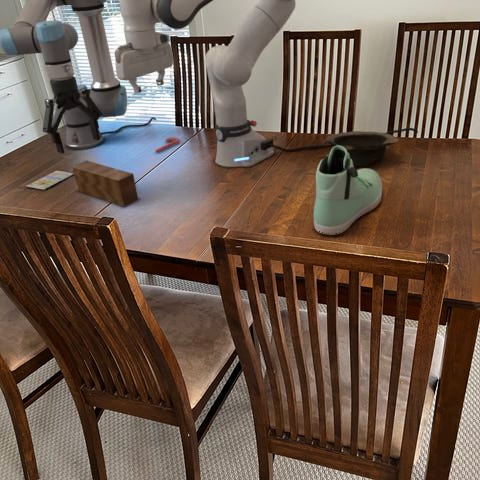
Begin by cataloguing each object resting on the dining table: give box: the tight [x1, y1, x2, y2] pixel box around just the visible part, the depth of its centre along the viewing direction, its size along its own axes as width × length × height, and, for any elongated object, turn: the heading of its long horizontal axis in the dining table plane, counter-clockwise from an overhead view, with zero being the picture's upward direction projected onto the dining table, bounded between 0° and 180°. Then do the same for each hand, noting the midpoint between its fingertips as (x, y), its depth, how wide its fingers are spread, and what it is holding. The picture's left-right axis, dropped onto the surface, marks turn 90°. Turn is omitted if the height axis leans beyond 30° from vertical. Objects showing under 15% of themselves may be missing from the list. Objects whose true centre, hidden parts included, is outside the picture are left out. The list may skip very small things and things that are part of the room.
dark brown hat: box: [324, 130, 399, 167], centre depth 168 cm, size 25×25×9 cm
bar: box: [71, 159, 139, 208], centre depth 156 cm, size 23×6×9 cm, turn 53°
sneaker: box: [313, 146, 383, 236], centre depth 133 cm, size 14×35×20 cm, turn 152°
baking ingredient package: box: [26, 170, 74, 190], centre depth 172 cm, size 9×1×15 cm
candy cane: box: [155, 136, 180, 153], centre depth 194 cm, size 6×15×2 cm, turn 145°
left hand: (79, 145), depth 154 cm, fingers open, 13 cm apart
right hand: (149, 88), depth 146 cm, fingers open, 8 cm apart
